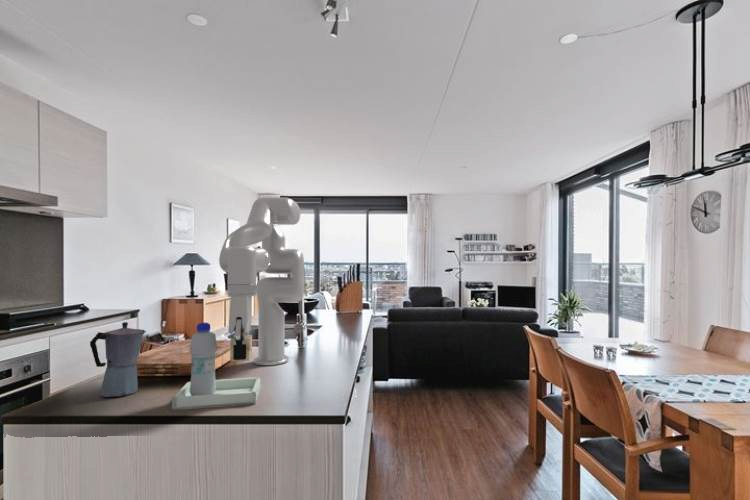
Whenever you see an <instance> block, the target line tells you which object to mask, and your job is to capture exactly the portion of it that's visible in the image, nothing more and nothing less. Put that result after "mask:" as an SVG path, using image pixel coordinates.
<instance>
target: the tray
mask: <svg viewBox="0 0 750 500" xmlns="http://www.w3.org/2000/svg"><path fill="white" fill-rule="evenodd" d="M215 380H216V389H215V392H214V394H209V395H194V396H191V394H190V384H191V381H187V382H186V383H185V384H184V386H182V387H181V389H180V390H179V391H178V392H177V393H176V394H175V395H173V397H172V399H171V401H172V402H171V411H182V410H183V411H185V410H195V409H207V408H208V409H209V408H223V407H224V408H225V407H234V406H250V405H251V406H252V405H256V404H257V400H258V398H259V394H260V391H261V387H262V385H261V384H262V377H261V376H258V377H244V378H242V377H241V378H240V377H239V378H226V379H215Z"/></svg>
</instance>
